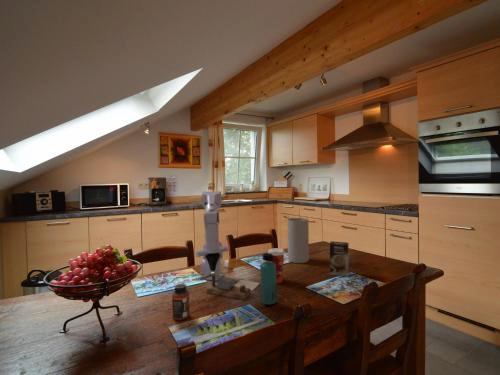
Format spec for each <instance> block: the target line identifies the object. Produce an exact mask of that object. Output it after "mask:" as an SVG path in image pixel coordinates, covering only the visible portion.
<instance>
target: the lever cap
mask: <svg viewBox="0 0 500 375" xmlns="http://www.w3.org/2000/svg"><path fill="white" fill-rule="evenodd" d="M217 283H218V289H221V290H227V291H231V290H232V289H233V288H234V287H235V284H236V283H235V278H234V277H227V276H223V277H221V278H220V279H218V280H217Z"/></svg>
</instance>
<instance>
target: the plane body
mask: <svg viewBox="0 0 500 375" xmlns="http://www.w3.org/2000/svg"><path fill="white" fill-rule="evenodd" d="M206 293H207V294H212V295H217V296H221V297H226V298H232V299H238V300H243V301H244V300H245V299H246V298H247V297H248V296H249V295H250V294H251V291H250V288H245V285H241V286H240V287H239V286H235V287H234V288H233V289H232V290H231V291H227V290H221V289H218V282H217V281H215V276H212V280H211V284H210V285H209V286H207V287H206Z"/></svg>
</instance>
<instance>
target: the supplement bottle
mask: <svg viewBox="0 0 500 375" xmlns="http://www.w3.org/2000/svg"><path fill="white" fill-rule="evenodd" d="M171 298H172V301H171V302H172V303H171V304H172V318H173V320H176V321H183V320H186V319H188V318H189V317H190V313H191V311H190V291H189V290H188V289H187V284H184V283H179V284H176V285H175V286H174V291H173V292H172V295H171Z"/></svg>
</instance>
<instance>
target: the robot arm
mask: <svg viewBox="0 0 500 375" xmlns="http://www.w3.org/2000/svg"><path fill="white" fill-rule="evenodd" d="M201 194H202V195H201V199H202V200H201V201H202V206H203V209H205V210H204V211H205V212H204V213H203V224H204V236H205V237H204V238H205V241H204V242H205V243H204V244H203V246H202V247H203V248H202V249H200V250H197V251H195V257H197V258H200V257H202V261H201V264H200V275H201V276H204V275H207V274H209V273H211V272H213V271H215V272H216V275H215V282H218V280H219V279H220V278H222V277H225V276H224V274H221V260H222V259H223V258H224V257H223V256H224V254H223V253H224V252H225V253H226V252H228V251H229V247H228V246H226V245H225V246H223V244H222V242H221V241H220V240H219V238H220V236H219V234H220V233H219V224H220V213H219V209H220V208H221V206H222V192H221V190H218V191H217V190H215V191H213V190H212V191H202V193H201ZM201 276H200V277H201ZM205 280H209V281H212V276H211V277H208V278H206V279H205Z"/></svg>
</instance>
